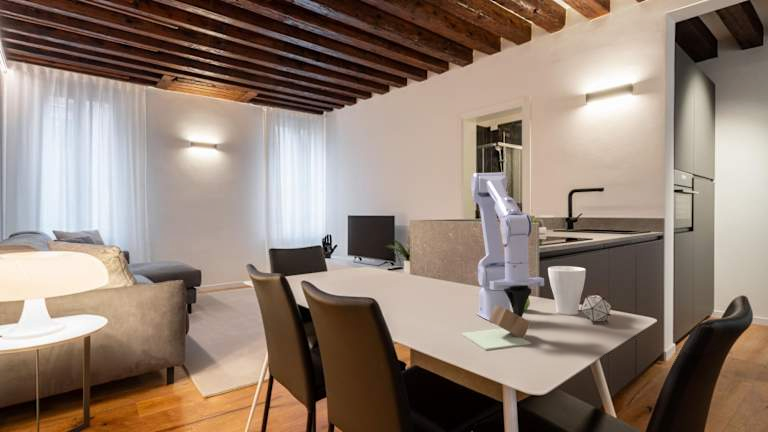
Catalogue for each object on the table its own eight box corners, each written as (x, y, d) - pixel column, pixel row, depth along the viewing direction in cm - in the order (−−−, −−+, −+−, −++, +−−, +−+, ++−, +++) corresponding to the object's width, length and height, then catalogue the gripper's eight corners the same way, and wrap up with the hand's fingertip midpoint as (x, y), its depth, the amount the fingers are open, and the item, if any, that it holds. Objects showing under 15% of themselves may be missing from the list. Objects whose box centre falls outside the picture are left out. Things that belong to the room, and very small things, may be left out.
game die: (604, 336, 106) (623, 313, 100) (573, 325, 107) (590, 301, 102) (600, 314, 113) (618, 291, 107) (571, 303, 114) (587, 280, 109)
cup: (569, 318, 111) (568, 272, 111) (541, 310, 121) (540, 267, 120) (594, 314, 115) (593, 269, 115) (565, 306, 125) (564, 265, 125)
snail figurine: (535, 312, 119) (534, 273, 119) (514, 312, 119) (514, 274, 119) (529, 308, 124) (528, 271, 124) (509, 308, 125) (508, 271, 124)
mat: (461, 334, 100) (461, 333, 100) (502, 329, 103) (502, 328, 103) (485, 350, 88) (485, 348, 88) (530, 344, 91) (530, 342, 91)
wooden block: (512, 333, 99) (488, 320, 98) (520, 317, 100) (496, 304, 98) (523, 339, 95) (498, 325, 93) (531, 322, 96) (506, 308, 94)
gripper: (500, 265, 91) (501, 323, 91) (551, 262, 95) (553, 317, 95) (484, 262, 98) (486, 315, 98) (533, 259, 102) (535, 310, 102)
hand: (518, 316), depth 97 cm, fingers closed, pressing on wooden block
